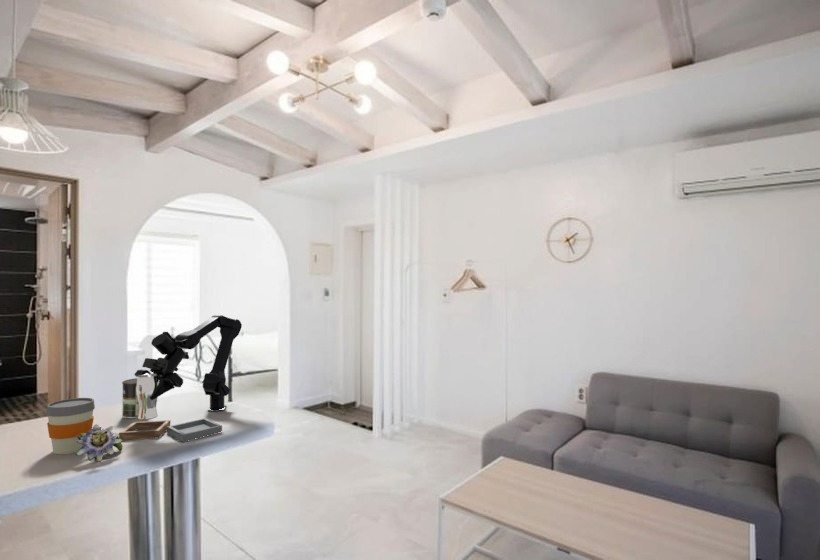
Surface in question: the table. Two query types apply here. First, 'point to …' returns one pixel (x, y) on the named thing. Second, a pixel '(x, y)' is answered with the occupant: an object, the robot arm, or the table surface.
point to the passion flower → (98, 442)
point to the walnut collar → (131, 434)
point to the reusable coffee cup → (69, 423)
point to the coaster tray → (193, 429)
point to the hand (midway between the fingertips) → (144, 398)
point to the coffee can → (130, 399)
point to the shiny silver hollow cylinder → (147, 396)
